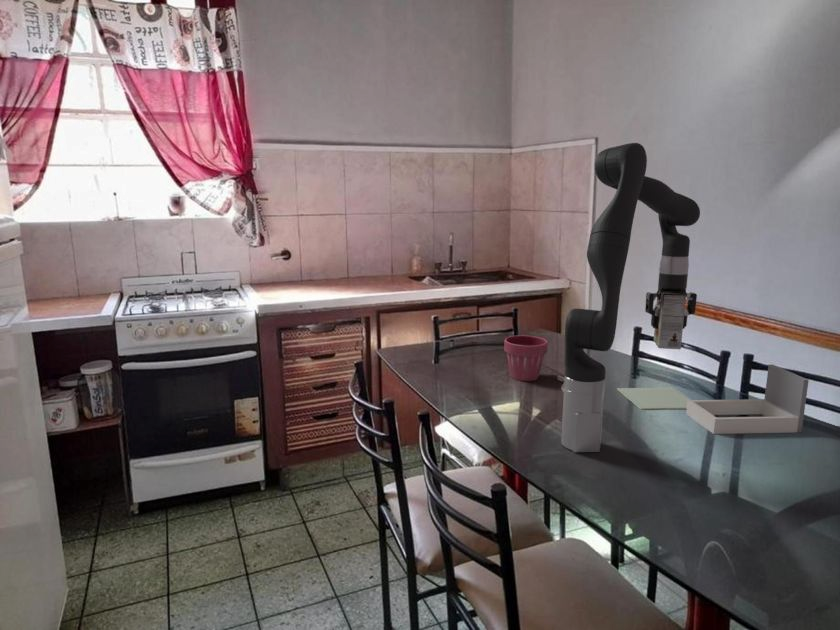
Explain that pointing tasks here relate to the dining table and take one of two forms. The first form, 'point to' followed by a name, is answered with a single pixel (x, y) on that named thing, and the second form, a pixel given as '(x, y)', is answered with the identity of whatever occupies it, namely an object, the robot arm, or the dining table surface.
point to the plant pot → (525, 356)
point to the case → (757, 408)
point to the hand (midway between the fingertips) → (668, 328)
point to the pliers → (561, 381)
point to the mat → (655, 398)
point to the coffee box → (670, 320)
